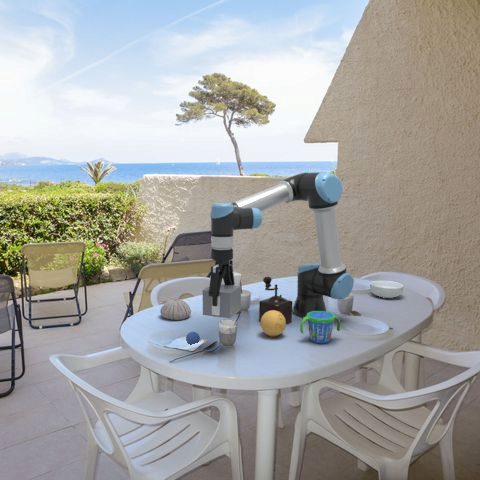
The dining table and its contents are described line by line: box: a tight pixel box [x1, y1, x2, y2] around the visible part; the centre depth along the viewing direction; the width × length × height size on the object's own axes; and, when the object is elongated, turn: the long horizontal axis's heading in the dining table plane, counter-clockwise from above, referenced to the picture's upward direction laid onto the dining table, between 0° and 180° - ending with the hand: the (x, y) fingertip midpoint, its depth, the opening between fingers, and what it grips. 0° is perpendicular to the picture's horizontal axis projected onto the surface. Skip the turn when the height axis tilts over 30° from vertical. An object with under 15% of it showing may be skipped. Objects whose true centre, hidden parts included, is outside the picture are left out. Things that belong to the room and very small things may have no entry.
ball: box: [185, 331, 201, 345], centre depth 161 cm, size 5×5×5 cm
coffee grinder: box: [258, 276, 293, 325], centre depth 191 cm, size 16×11×18 cm
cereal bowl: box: [369, 280, 404, 299], centre depth 234 cm, size 17×17×7 cm
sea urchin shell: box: [159, 298, 192, 321], centre depth 194 cm, size 13×14×8 cm
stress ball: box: [259, 310, 287, 338], centre depth 172 cm, size 10×10×10 cm
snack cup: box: [299, 311, 342, 344], centre depth 168 cm, size 16×10×10 cm
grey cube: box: [202, 284, 242, 319], centre depth 156 cm, size 10×10×9 cm
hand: (222, 310), depth 156 cm, fingers closed on grey cube, 10 cm apart
